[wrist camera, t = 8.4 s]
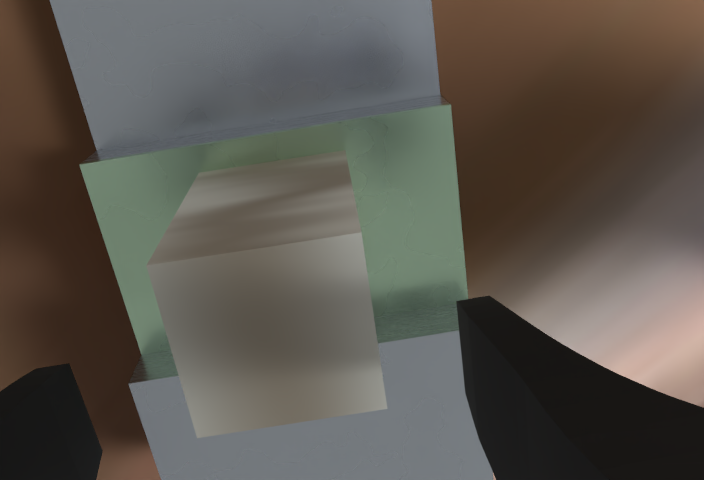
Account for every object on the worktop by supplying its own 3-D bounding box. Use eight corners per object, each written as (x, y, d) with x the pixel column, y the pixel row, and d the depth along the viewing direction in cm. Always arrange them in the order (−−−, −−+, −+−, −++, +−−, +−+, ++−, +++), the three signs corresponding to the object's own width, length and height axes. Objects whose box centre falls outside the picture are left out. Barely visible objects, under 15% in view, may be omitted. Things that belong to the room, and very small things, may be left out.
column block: (345, 150, 17) (361, 232, 12) (364, 281, 19) (387, 408, 13) (198, 172, 17) (146, 265, 12) (230, 302, 19) (197, 438, 13)
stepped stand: (409, -135, 17) (439, -169, 13) (463, 402, 24) (494, 489, 20) (36, -74, 17) (-50, -89, 13) (196, 445, 24) (172, 541, 20)
